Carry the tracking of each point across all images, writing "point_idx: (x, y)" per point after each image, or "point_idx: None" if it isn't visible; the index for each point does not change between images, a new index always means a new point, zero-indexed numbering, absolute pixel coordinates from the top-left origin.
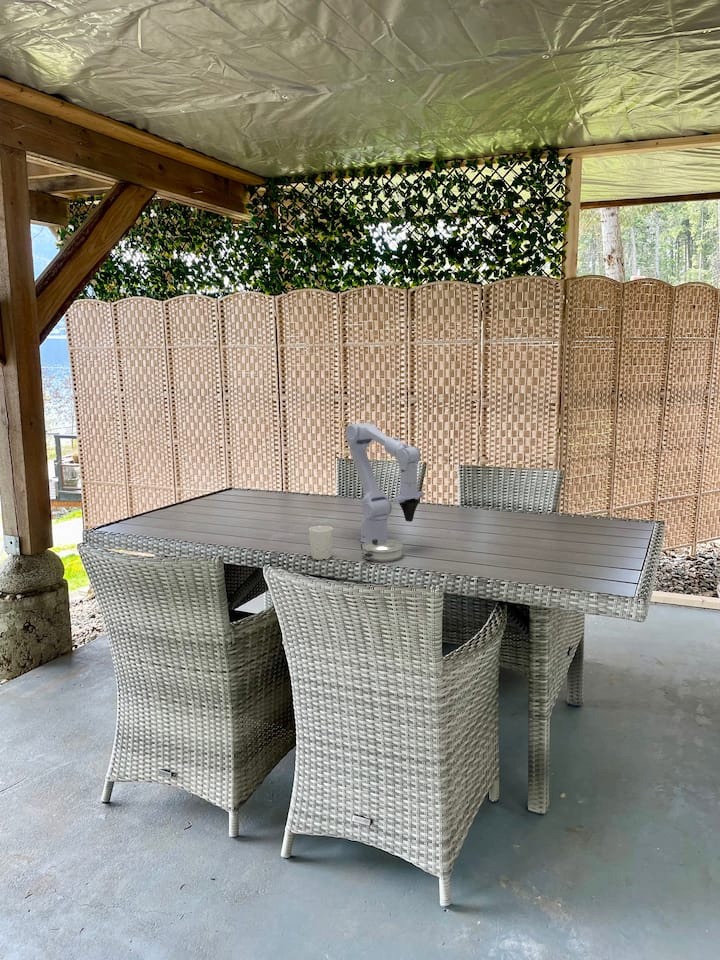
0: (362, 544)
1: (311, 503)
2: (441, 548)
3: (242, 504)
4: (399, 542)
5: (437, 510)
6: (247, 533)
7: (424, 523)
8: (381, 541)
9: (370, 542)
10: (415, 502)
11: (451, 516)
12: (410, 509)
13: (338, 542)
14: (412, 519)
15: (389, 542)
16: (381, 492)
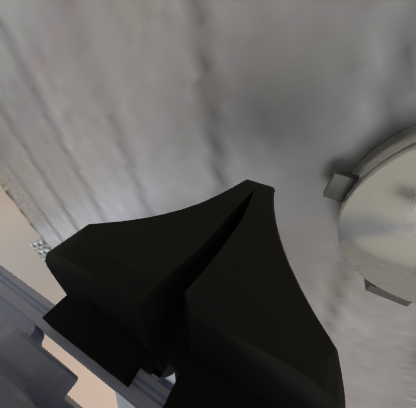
0: (402, 302)
1: None
2: (201, 14)
3: None
4: (399, 169)
5: (26, 198)
6: None
7: (74, 195)
8: (381, 252)
9: (414, 288)
10: (155, 292)
11: (19, 166)
12: (285, 263)
13: None
14: (247, 183)
15: (405, 218)
16: (123, 400)
